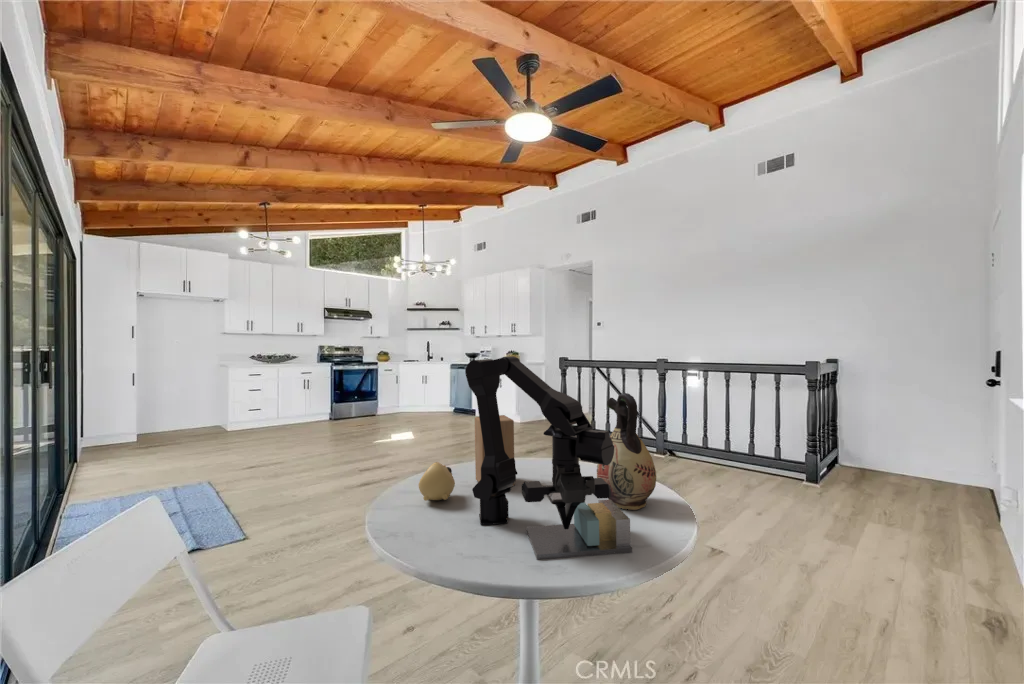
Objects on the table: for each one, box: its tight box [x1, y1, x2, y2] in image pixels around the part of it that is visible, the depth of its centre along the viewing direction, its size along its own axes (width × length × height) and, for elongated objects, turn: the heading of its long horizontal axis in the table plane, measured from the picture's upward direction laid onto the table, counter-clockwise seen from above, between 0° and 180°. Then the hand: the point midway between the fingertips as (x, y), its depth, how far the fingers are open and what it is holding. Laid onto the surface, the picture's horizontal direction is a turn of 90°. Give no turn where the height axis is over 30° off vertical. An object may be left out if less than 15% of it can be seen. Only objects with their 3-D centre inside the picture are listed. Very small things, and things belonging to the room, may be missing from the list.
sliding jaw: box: [573, 501, 599, 546], centre depth 103 cm, size 2×11×5 cm, turn 7°
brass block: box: [587, 502, 612, 541], centre depth 103 cm, size 4×6×6 cm, turn 7°
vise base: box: [525, 499, 633, 561], centre depth 103 cm, size 20×14×6 cm
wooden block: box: [474, 414, 516, 487], centre depth 144 cm, size 10×10×20 cm
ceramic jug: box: [596, 392, 657, 511], centre depth 124 cm, size 17×15×30 cm
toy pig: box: [418, 461, 456, 502], centre depth 130 cm, size 10×12×11 cm
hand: (565, 528), depth 102 cm, fingers closed
